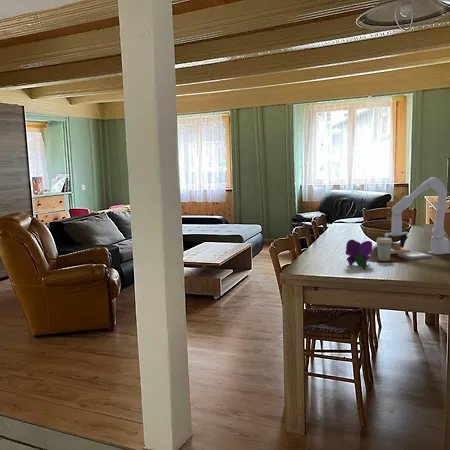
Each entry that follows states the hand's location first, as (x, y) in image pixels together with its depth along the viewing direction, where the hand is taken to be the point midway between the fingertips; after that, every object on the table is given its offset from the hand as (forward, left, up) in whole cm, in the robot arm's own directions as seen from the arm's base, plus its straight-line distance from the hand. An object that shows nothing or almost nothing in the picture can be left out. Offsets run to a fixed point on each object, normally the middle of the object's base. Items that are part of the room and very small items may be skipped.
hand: (396, 248), depth 277 cm
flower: (+40, +28, -3) cm, 49 cm away
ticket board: (0, +17, -2) cm, 17 cm away
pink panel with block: (0, 0, -2) cm, 2 cm away
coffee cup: (+20, +17, -3) cm, 26 cm away
